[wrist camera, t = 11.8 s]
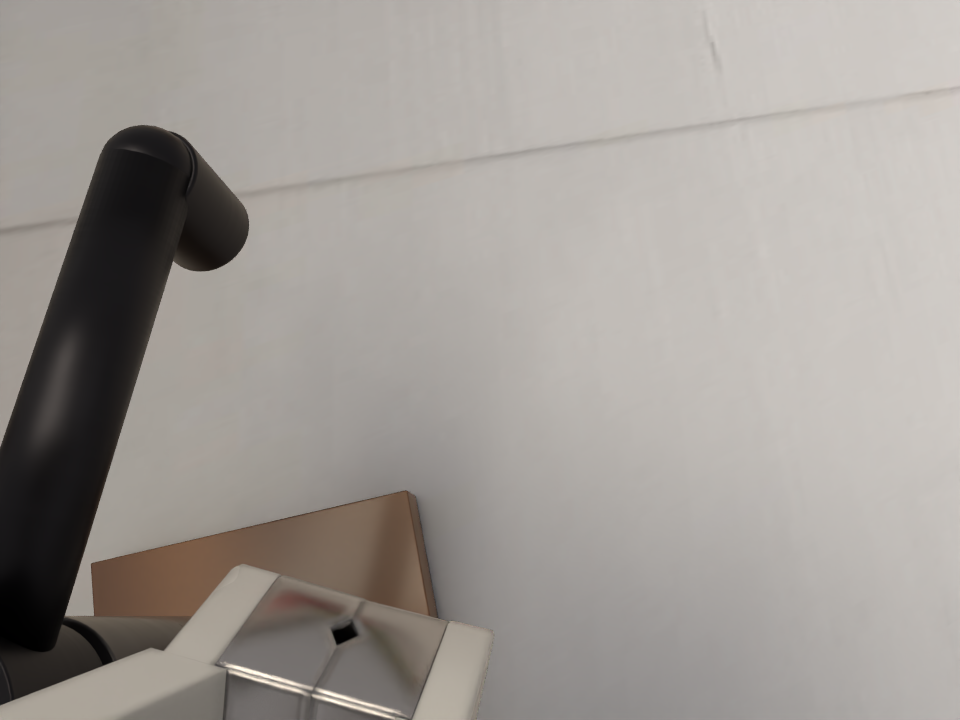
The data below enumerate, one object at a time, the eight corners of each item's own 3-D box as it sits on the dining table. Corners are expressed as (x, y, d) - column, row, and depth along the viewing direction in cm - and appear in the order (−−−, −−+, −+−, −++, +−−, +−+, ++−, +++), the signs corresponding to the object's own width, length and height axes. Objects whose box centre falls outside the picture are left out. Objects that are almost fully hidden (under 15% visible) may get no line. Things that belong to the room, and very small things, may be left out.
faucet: (133, 855, 30) (-242, 1046, 17) (112, 565, 33) (-218, 530, 20) (469, 785, 29) (359, 926, 16) (415, 495, 32) (285, 409, 19)
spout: (115, 806, 18) (-28, 862, 14) (-28, 768, 19) (-204, 811, 14) (282, 200, 22) (208, 102, 17) (158, 184, 22) (58, 86, 18)
